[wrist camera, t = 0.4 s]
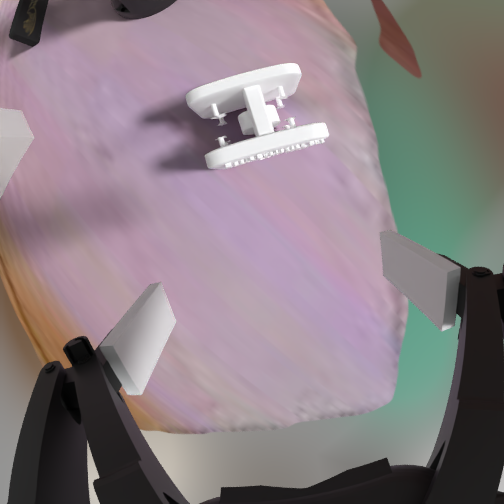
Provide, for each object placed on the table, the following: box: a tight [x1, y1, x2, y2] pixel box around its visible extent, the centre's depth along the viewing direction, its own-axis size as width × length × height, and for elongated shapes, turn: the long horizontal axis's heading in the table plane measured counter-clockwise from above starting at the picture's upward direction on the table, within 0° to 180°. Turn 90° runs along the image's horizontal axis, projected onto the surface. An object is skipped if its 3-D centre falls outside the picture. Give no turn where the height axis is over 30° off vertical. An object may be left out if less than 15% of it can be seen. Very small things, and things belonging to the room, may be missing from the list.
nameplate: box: [9, 0, 48, 46], centre depth 25 cm, size 21×2×10 cm, turn 9°
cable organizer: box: [185, 63, 329, 170], centre depth 33 cm, size 15×11×12 cm
